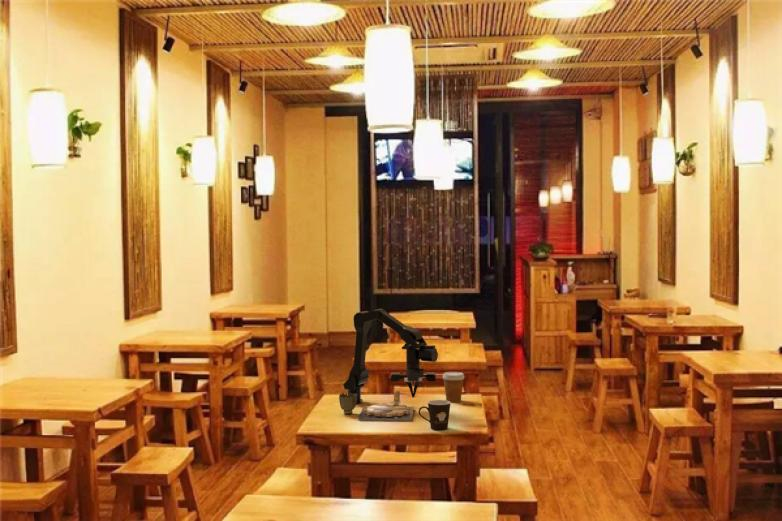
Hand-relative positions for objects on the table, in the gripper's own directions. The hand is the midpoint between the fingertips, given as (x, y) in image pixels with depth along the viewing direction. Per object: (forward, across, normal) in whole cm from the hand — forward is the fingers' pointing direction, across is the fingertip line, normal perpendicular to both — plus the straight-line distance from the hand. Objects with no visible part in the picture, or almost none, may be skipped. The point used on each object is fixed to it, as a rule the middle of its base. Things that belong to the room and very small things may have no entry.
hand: (413, 397), depth 354 cm
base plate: (+5, -11, -10) cm, 15 cm away
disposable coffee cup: (+5, +18, +16) cm, 24 cm away
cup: (+5, -27, -8) cm, 28 cm away
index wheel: (+4, -11, -10) cm, 15 cm away
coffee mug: (+5, +8, -32) cm, 33 cm away
